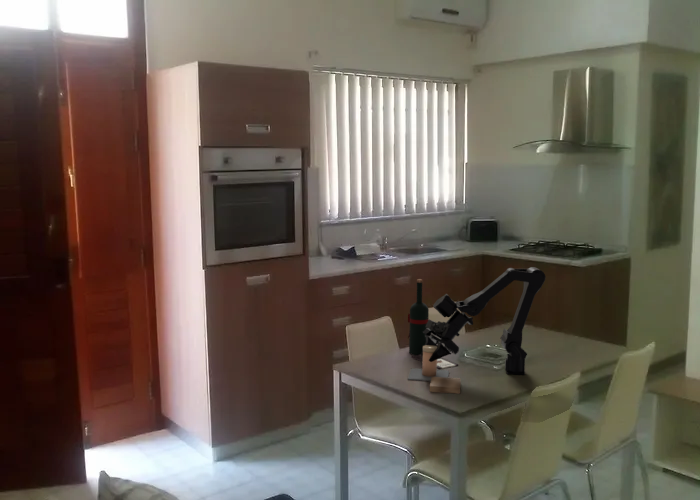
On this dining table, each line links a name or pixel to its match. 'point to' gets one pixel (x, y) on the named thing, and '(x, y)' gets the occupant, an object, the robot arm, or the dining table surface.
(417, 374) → the mat
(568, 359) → the dining table surface
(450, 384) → the plate
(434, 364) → the tan cylindrical piece
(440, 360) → the chocolate bar
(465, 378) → the dining table surface
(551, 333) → the dining table surface
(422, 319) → the wine bottle
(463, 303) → the robot arm
